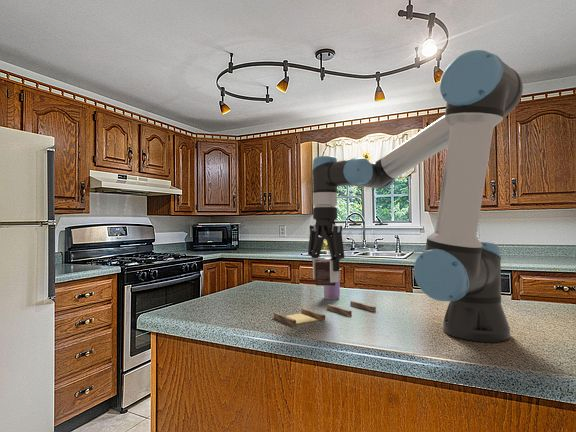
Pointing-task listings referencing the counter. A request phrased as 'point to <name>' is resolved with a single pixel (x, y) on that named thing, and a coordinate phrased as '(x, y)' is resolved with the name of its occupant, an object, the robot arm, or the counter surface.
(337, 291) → the beverage can
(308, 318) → the pad
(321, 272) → the box
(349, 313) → the notch rack
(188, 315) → the counter surface
